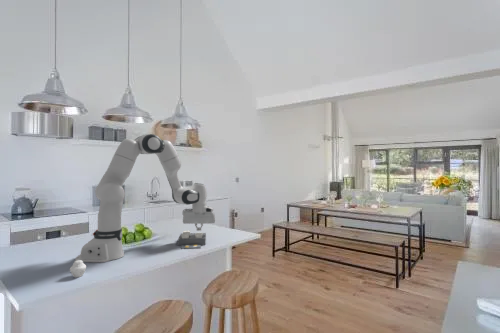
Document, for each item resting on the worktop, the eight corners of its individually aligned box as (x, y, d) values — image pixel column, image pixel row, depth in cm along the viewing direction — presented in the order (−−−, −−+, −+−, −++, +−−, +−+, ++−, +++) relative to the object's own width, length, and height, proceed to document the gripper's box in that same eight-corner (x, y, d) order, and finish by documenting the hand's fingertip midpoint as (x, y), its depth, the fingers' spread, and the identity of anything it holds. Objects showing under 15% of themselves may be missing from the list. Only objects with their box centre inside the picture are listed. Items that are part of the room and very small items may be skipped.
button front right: (195, 239, 175) (195, 234, 175) (195, 237, 179) (195, 233, 179) (202, 239, 175) (202, 234, 175) (202, 237, 179) (202, 232, 179)
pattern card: (181, 248, 166) (181, 247, 166) (182, 246, 171) (182, 244, 171) (200, 248, 167) (200, 246, 167) (200, 245, 172) (200, 244, 172)
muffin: (83, 272, 129) (83, 256, 129) (88, 275, 125) (88, 259, 125) (67, 276, 125) (67, 260, 125) (72, 280, 120) (72, 263, 120)
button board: (178, 245, 172) (178, 239, 172) (180, 239, 186) (180, 233, 186) (205, 245, 174) (205, 238, 174) (205, 239, 188) (205, 232, 188)
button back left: (182, 237, 181) (182, 232, 181) (183, 235, 185) (183, 230, 185) (189, 236, 181) (189, 232, 181) (190, 235, 185) (190, 230, 185)
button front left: (181, 240, 174) (181, 235, 174) (182, 238, 178) (182, 233, 178) (188, 239, 174) (188, 234, 174) (189, 238, 178) (189, 233, 178)
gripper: (182, 209, 179) (181, 231, 179) (215, 209, 182) (214, 231, 182) (183, 207, 186) (182, 229, 186) (215, 207, 188) (214, 229, 188)
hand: (198, 230), depth 184 cm, fingers closed
